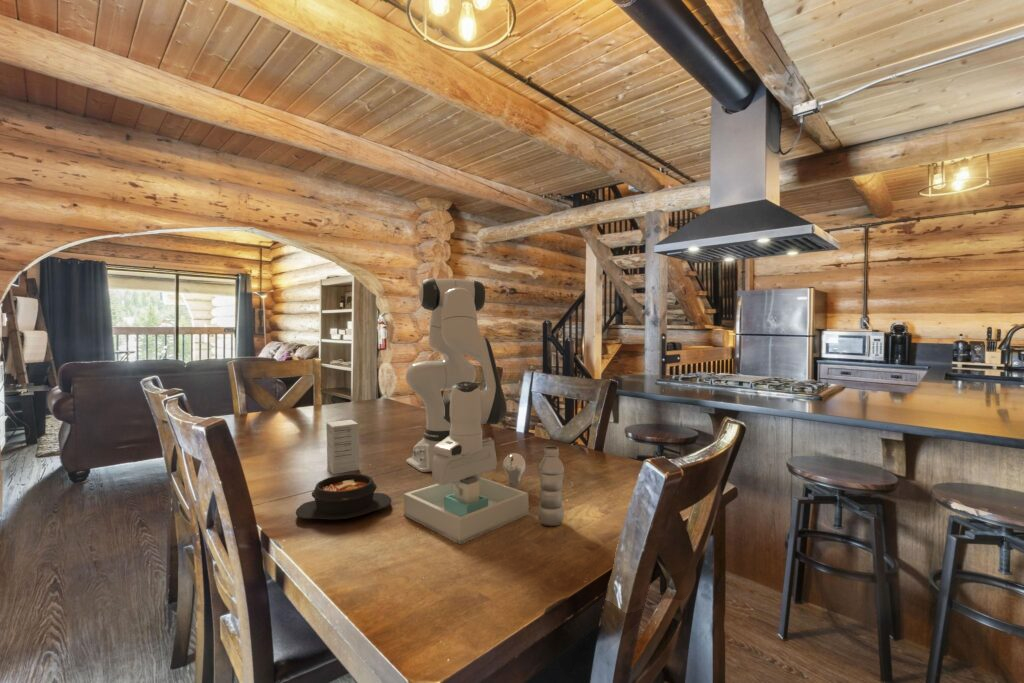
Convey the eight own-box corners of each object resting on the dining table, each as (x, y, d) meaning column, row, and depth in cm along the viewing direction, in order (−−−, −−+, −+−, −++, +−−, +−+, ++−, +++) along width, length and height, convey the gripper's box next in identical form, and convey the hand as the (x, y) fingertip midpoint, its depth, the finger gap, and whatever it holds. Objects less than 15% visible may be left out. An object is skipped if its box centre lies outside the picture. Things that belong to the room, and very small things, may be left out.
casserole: (292, 533, 115) (291, 500, 115) (298, 505, 132) (298, 477, 132) (394, 518, 124) (394, 487, 123) (388, 494, 141) (388, 467, 141)
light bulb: (523, 496, 139) (523, 457, 139) (500, 494, 141) (500, 456, 140) (527, 488, 146) (527, 451, 146) (505, 486, 148) (505, 449, 147)
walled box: (404, 515, 125) (403, 493, 125) (471, 492, 143) (471, 473, 142) (459, 544, 109) (459, 519, 108) (528, 514, 126) (528, 493, 126)
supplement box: (359, 470, 165) (359, 423, 164) (333, 474, 160) (332, 426, 159) (352, 463, 173) (351, 419, 172) (326, 467, 167) (325, 421, 167)
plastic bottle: (536, 518, 123) (536, 445, 122) (561, 518, 124) (561, 444, 123) (539, 529, 117) (540, 451, 116) (566, 528, 117) (566, 450, 117)
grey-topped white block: (453, 505, 126) (453, 476, 126) (465, 501, 129) (464, 472, 129) (468, 511, 122) (467, 481, 122) (479, 506, 125) (479, 477, 125)
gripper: (486, 434, 135) (486, 480, 135) (428, 447, 120) (428, 499, 120) (501, 437, 130) (501, 486, 131) (443, 452, 116) (443, 506, 116)
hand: (466, 492), depth 125 cm, fingers closed on grey-topped white block, 4 cm apart
